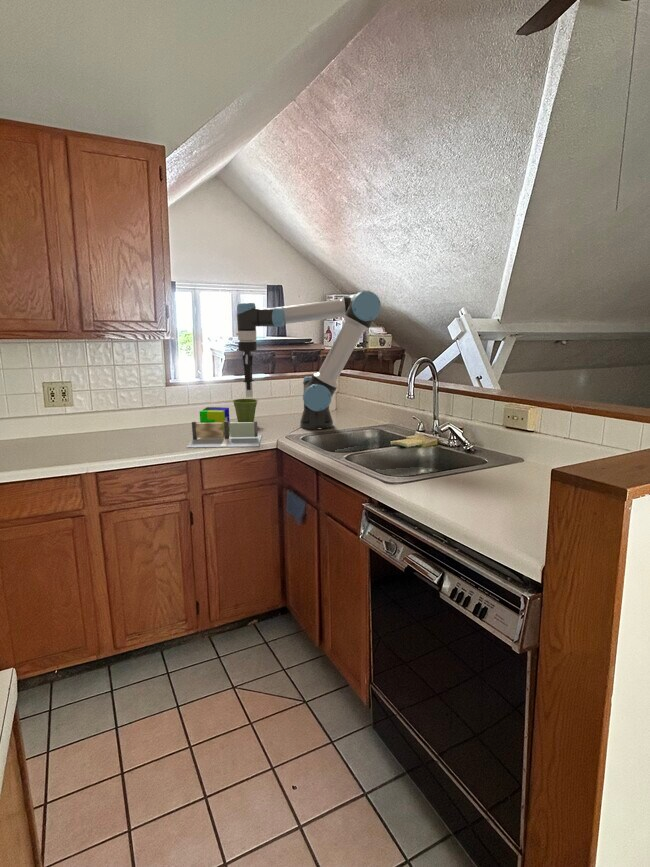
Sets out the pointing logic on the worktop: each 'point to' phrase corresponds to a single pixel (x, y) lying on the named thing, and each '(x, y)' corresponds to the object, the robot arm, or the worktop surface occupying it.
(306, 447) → the worktop surface
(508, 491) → the worktop surface
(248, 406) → the plant pot
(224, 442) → the card
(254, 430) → the fence panel
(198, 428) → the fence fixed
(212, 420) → the puzzle toy
